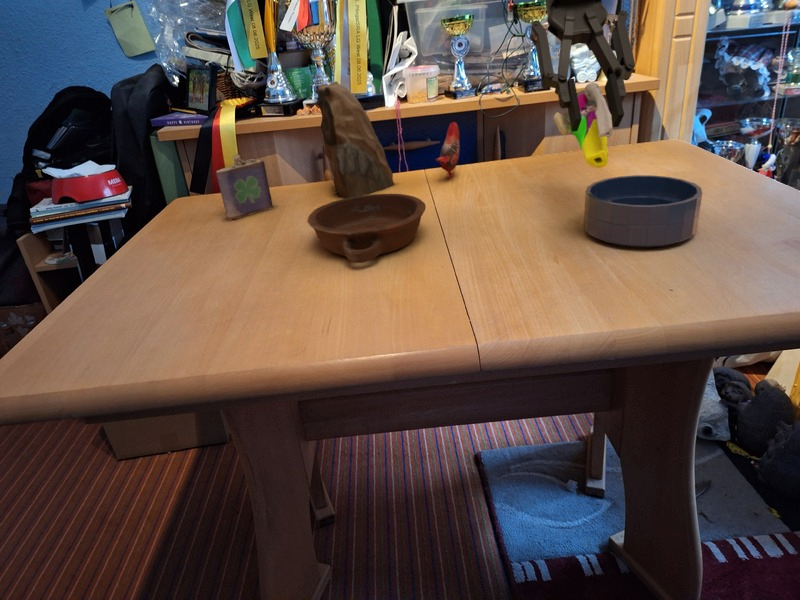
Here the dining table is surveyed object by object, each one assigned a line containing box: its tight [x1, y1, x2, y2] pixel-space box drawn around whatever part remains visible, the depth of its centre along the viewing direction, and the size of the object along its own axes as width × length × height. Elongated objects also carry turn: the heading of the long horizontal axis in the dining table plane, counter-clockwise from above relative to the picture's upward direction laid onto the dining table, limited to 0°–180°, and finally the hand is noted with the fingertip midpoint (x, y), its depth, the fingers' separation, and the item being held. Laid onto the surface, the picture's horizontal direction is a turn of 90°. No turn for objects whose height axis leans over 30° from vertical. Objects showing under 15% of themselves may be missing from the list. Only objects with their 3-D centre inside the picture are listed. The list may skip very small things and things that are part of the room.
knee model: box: [553, 81, 614, 168], centre depth 79 cm, size 9×8×25 cm
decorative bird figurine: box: [435, 121, 460, 180], centre depth 109 cm, size 3×18×10 cm, turn 163°
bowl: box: [583, 174, 703, 249], centre depth 76 cm, size 14×14×6 cm
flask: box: [215, 154, 274, 221], centre depth 102 cm, size 9×3×11 cm, turn 129°
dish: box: [307, 193, 427, 264], centre depth 84 cm, size 18×22×5 cm
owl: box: [315, 81, 395, 199], centre depth 108 cm, size 13×13×20 cm
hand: (597, 122), depth 75 cm, fingers closed on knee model, 5 cm apart
